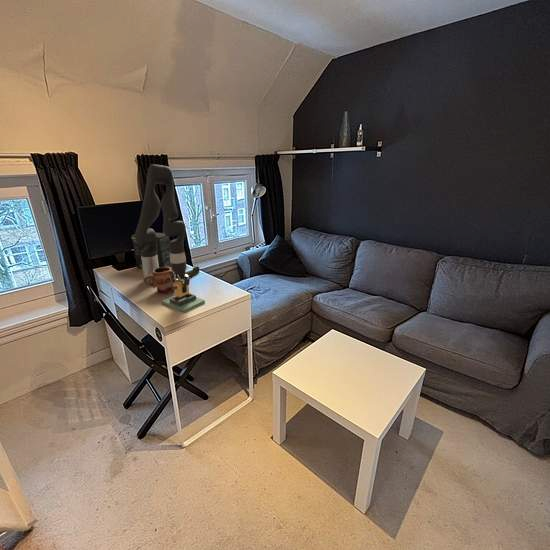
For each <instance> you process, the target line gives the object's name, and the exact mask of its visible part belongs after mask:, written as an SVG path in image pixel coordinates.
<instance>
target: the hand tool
mask: <svg viewBox="0 0 550 550" xmlns="http://www.w3.org/2000/svg"><path fill="white" fill-rule="evenodd" d="M199 271H200V267H199V266H195V267H193V268H192V270H190V271H188V272H186V275H190V278H191V277H193V276H194V275H195V274H196V275H198V274H199V273H200V272H199ZM197 273H198V274H197ZM183 280H184V279H183Z"/></svg>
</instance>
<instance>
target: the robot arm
mask: <svg viewBox="0 0 550 550" xmlns="http://www.w3.org/2000/svg"><path fill="white" fill-rule="evenodd" d="M156 184H159V185H165V186H166V187H165V188H166V190H165V192H164V194H163V196H162V198H161V200H160V199H159V197H158V195H157V193H156V190H155V189H156V188H155V187H156V186H155V185H156ZM145 186H146V187H145V191H144V198H143V200H142V206H141V212H140V217H139V220H138V223H137V226H136V230H135V241H136V243H137V244H138V245H140V246H143V245H147V246H146V247H145V248H144V249H143V250H142V251H141V258H142V264H143V267H142V268H143V269H142V268H141V269H142V274H143V278H144V277H145V276H147V275H151V274H152V273H153V270H154V269H156V268H159V263H158V256H157V237H156V233H157V232H156V231H155V230H154V229H153V228H151V226H152V224H153V223H155V221H156V220H157V218H158V217H159V215H160V213H161V211H162V215H163V216H162V217H163V225H162V233H164V234H165V235H166V236H169V237H177V238H175V239H171V240H170V242H169V250H170V262H171V270H172V271H171V272H170V275H171V278H172V281H173V283H175V282H178V281H180V283H181V285H182V292H183V293H185V292H187V288H186V286H187V285H189V286H190V280H191V277H190V275H186V273H187V272H186V270H187V259H186V258H187V257H186V253H185V246H184V244H185V243H184V242H185V235H186V228H187V227H186V224H185V222H183V220H176V219H178V218H179V211H178V207H177V204H176V198H175V186H174V177H173V172H172V169H171V168H170V167H169V166H167V165H161V164H155V163H154V164H153V163H152V164H150V165H149V166H148V170H147V177H146V185H145ZM173 220H174V221H173ZM183 279H184V280H183ZM183 282H184V284H183ZM146 283H147V284H152V283H153V281H152V279H151V278H149V279H147V280H146Z"/></svg>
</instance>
